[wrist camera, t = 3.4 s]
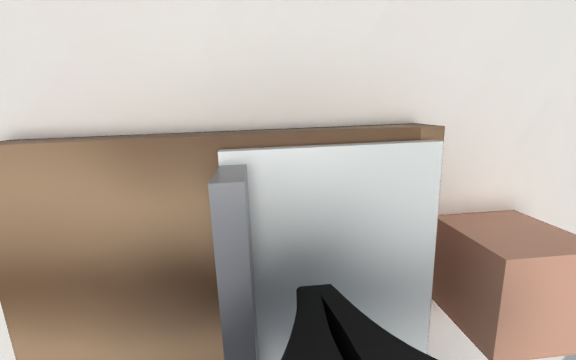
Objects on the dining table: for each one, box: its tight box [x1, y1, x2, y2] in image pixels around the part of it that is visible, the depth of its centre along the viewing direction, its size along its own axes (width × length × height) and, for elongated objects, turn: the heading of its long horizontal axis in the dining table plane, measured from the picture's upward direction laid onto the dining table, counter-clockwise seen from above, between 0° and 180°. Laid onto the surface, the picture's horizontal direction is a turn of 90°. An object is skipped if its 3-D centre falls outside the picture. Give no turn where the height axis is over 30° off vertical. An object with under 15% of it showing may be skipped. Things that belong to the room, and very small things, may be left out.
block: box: [432, 210, 576, 360], centre depth 15 cm, size 4×4×5 cm
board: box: [0, 123, 445, 360], centre depth 15 cm, size 13×18×2 cm
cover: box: [208, 140, 444, 360], centre depth 12 cm, size 12×8×4 cm
